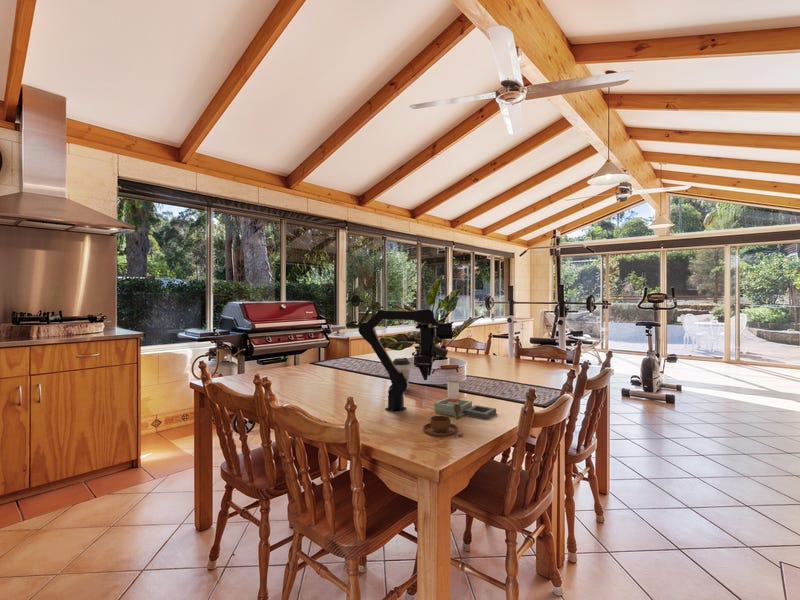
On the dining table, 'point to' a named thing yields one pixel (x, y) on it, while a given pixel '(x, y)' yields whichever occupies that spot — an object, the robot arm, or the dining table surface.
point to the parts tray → (451, 407)
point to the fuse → (453, 390)
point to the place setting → (443, 424)
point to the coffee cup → (403, 366)
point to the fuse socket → (480, 412)
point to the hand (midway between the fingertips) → (427, 377)
